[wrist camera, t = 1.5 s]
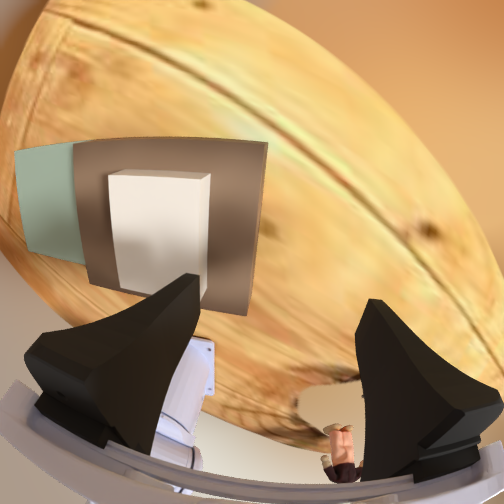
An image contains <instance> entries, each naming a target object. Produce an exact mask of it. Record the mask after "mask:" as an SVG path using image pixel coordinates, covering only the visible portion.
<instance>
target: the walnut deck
mask: <svg viewBox="0 0 504 504" xmlns="http://www.w3.org/2000/svg"><path fill="white" fill-rule="evenodd" d="M267 149H268V143H267V142H258V141H248V140H236V139H221V138H202V137H129V138H111V139H97V140H91V141H85V142H80V143H74V144H73V165H74V183H75V196H76V206H77V215H78V222H79V230H80V236H81V242H82V248H83V254H84V259H85V264H86V269H87V274H88V278H89V282H90V284H92V285H96V286H100V287H104V288H108V289H112V290H116V291H120V292H124V293H128V294H133V295H137V296H141V297H146V298H147V297H149V296H151V294H146V293H141V292H137V291H132V290H128V289H124V288H120V282H119V276H118V270H117V264H116V257H115V250H114V242H113V233H112V224H111V213H110V199H109V181H108V175H110V174H113V173H116V172H119V171H122V170H125V169H137V170H165V171H183V172H198V173H211V177H210V196H209V219H208V252H207V289H206V291H205V293H204V295H203V297H202V299H201V301H200V309H206V310H211V311H217V312H223V313H229V314H235V315H241V316H247V312H248V308H249V303H250V299H251V294H252V286H253V277H254V268H255V259H256V250H257V241H258V232H259V223H260V214H261V205H262V196H263V186H264V177H265V168H266V159H267Z"/></svg>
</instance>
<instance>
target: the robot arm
mask: <svg viewBox="0 0 504 504" xmlns="http://www.w3.org/2000/svg"><path fill="white" fill-rule="evenodd" d="M199 316H200V275H196V274H191V273H185V274H183V275H182V276H180V277H178V278H177V279H175V280H174V281H172V282H171V283H170V284H168V285H166V286H165V287H163V288H162V289H160V290H159V291H157V292H156V293H154V294H152V295H151V296H149V297H147V298H146V299H144V300H142V301H140V302H139V303H137V304H135V305H133V306H131V307H129V308H127V309H125V310H123V311H121V312H119V313H117V314H114V315H112V316H109V317H106V318H104V319H101V320H98V321H95V322H93V323H89V324H86V325H82V326H78V327H74V328H70V329H65V330H59V331H52V332H46V333H42V334H41V335H40V337H39V338H38V339H37V340H36V341H35V342H34V343H33V344H32V346H31V347H30V348H29V349H28V350H27V352H26V353H25V354H24V361H25V364H26V366H27V368H28V370H29V371H30V373H31V374H32V376H33V377H34V379H35V380H36V382H37V383H38V385H39V386H40V387H41V389H42V390H43V393H42V394H41V396H40V397H39V395H38V394H36V393H35V392H34V391H33V390H32V389H30V388H29V387H27V386H26V385H24V384H23V383H22V382H20V381H19V380H15V381H14V383H13V384H12V386H11V387H10V388H9V389H8V391H7V392H6V394H5V395H4V397H3V398H2V399H1V401H0V434H1V435H2V436H3V437H4V438H5V439H6V440H7V441H8V442H9V443H10V444H12V445H13V446H14V447H15V448H16V449H17V450H18V451H20V452H21V453H22V454H23V455H24V456H26V457H27V458H28V459H29V460H30V461H32V462H33V463H34V464H36V465H37V466H38V467H39V468H41V469H42V470H43V471H45V472H46V473H47V474H49V475H50V476H51V477H53V478H54V479H56V480H58V481H59V482H60V483H62V484H63V485H65V486H66V487H68V488H69V489H71V490H73V491H74V492H76V493H78V494H79V495H81V496H83V497H84V498H86V499H88V500H87V502H86V504H257V503H249V502H241V501H232V500H224V499H212V498H201V497H195V496H191V494H192V492H193V491H196V492H201V493H205V494H209V495H214V496H219V497H225V498H230V499H237V500H244V501H251V502H261V503H272V504H341V503H351V504H481V503H483V502H485V501H487V500H488V499H490V498H491V497H493V496H495V495H497V494H498V493H500V492H502V491H503V490H504V449H503V446H502V443H501V440H498V441H496V442H494V443H491V444H489V445H487V446H485V447H483V448H481V449H479V450H478V447H477V444H479V443H480V442H481V438H480V434H481V433H482V432H483V431H484V430H485V429H486V428H487V427H488V426H490V425H491V424H492V423H493V422H494V421H495V420H496V419H497V418H498V417H499V415H500V414H501V413H502V411H503V408H504V403H503V401H502V398H501V396H500V394H499V392H498V390H496V389H494V388H492V387H490V386H487V385H485V384H483V383H481V382H479V381H477V380H475V379H473V378H471V377H470V376H468V375H466V374H464V373H463V372H461V371H460V370H458V369H457V368H455V367H454V366H452V365H451V364H449V363H448V362H447V361H445V360H444V359H443V358H441V357H440V356H439V355H438V354H437V353H435V352H434V351H433V350H432V349H431V348H429V347H428V346H427V345H426V344H425V343H424V342H423V341H422V340H421V339H420V338H419V337H418V336H417V335H416V334H415V333H414V332H413V331H412V330H411V329H410V328H409V327H408V326H407V325H406V324H405V323H404V322H403V321H402V320H401V319H400V318H399V317H398V316H397V315H396V314H395V312H394V311H393V310H392V309H391V308H390V307H389V306H388V305H387V304H386V303H385V302H383V301H382V300H378V299H369V300H368V302H367V305H366V308H365V310H364V313H363V315H362V318H361V320H360V323H359V325H358V327H357V330H356V332H355V346H356V356H357V361H358V367H359V372H360V377H361V382H362V388H363V393H364V399H365V419H366V420H365V421H366V422H365V449H364V460H363V467H362V474H361V480H360V482H354V483H340V484H289V483H274V482H263V481H255V480H247V479H240V478H234V477H228V476H222V475H217V474H212V473H208V472H203V471H202V468H203V460H202V456H201V453H200V450H199V449H198V448H197V447H196V446H193V444H194V441H195V436H194V435H192V434H193V432H194V430H195V427H196V423H197V420H198V417H199V413H200V410H201V407H202V404H203V400H204V397H205V395H210V396H213V395H214V393H215V384H214V342H213V341H211V340H207V339H202V338H197V337H192V335H193V333H194V331H195V328H196V325H197V322H198V319H199ZM352 502H353V503H352Z"/></svg>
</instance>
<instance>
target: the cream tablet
mask: <svg viewBox="0 0 504 504" xmlns="http://www.w3.org/2000/svg"><path fill="white" fill-rule="evenodd" d="M210 177H211V173H198V172H183V171H165V170H137V169H125V170H122V171H119V172H116V173H113V174H110V175H108V181H109V199H110V213H111V224H112V233H113V242H114V250H115V257H116V264H117V270H118V276H119V282H120V288H124V289H128V290H132V291H137V292H141V293H146V294H151V295H152V294H154V293H156V292H157V291H159V290H160V289H162V288H163V287H165V286H166V285H168V284H170V283H171V282H172V281H174V280H175V279H177V278H178V277H180V276H182V275H183V274H185V273H191V274H196V275H200V301H201V299H202V297H203V295H204V293H205V291H206V289H207V252H208V219H209V196H210Z"/></svg>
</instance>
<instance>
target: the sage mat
mask: <svg viewBox="0 0 504 504" xmlns="http://www.w3.org/2000/svg"><path fill="white" fill-rule="evenodd" d="M86 141H91V140H86ZM80 142H85V141H76V142H68V143H60V144H53V145H46V146H40V147H34V148H28V149H23V150H18V151H14V152H15V171H16V182H17V192H18V199H19V206H20V213H21V219H22V224H23V230H24V234H25V239H26V244H27V248H28V251H30V252H34V253H38V254H42V255H46V256H50V257H54V258H58V259H62V260H66V261H70V262H75V263H79V264H83V265H86V264H85V259H84V254H83V248H82V242H81V236H80V230H79V222H78V215H77V206H76V196H75V183H74V165H73V144H74V143H80Z"/></svg>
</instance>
